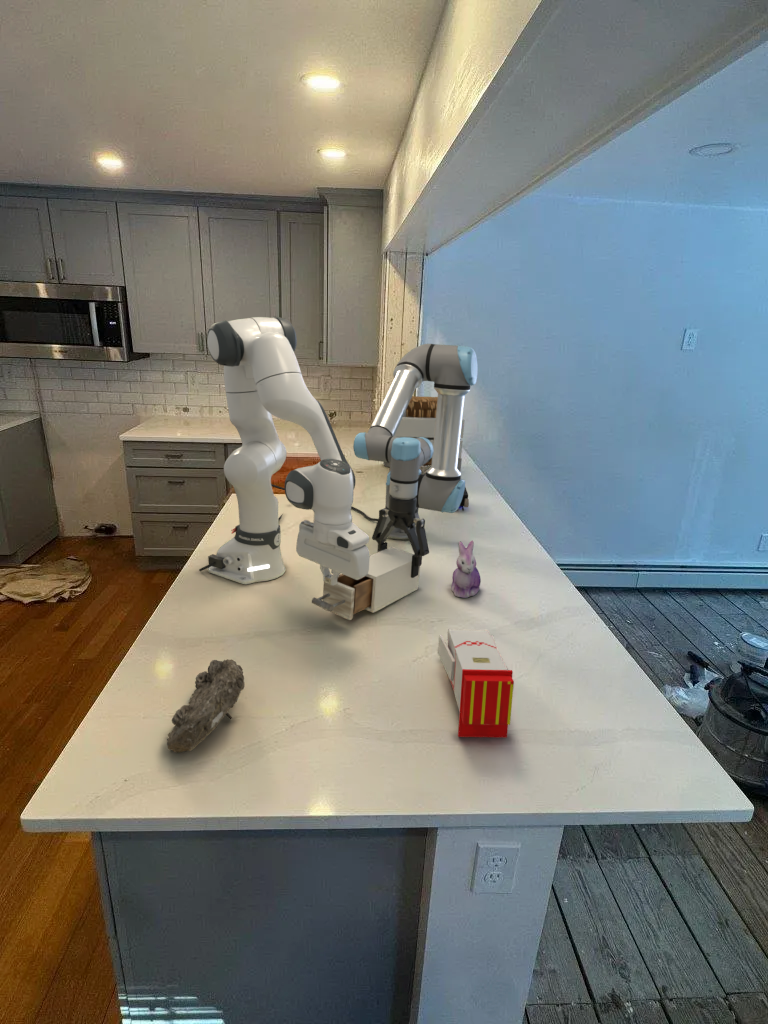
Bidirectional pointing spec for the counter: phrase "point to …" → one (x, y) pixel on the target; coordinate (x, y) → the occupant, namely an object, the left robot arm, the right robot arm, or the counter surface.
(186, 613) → the counter surface
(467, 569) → the figurine
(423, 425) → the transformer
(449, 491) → the right robot arm
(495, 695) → the toy
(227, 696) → the fossil
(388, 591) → the cabinet
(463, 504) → the figurine character
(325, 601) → the drawer
